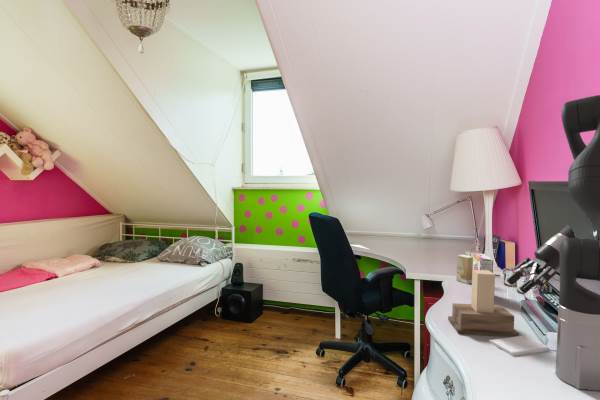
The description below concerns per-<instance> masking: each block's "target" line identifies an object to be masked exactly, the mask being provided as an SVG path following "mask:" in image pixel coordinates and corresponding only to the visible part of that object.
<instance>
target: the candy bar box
mask: <svg viewBox="0 0 600 400" xmlns="http://www.w3.org/2000/svg"><path fill="white" fill-rule="evenodd" d="M472 257H473V270H488V271H490V272H492V273H493V274H494V259H493V258H491V257H490V256H488V255H487V254H486V253H473V254H472Z"/></svg>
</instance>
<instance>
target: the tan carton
mask: <svg viewBox="0 0 600 400" xmlns="http://www.w3.org/2000/svg"><path fill="white" fill-rule="evenodd" d="M495 285H496V274H495V273H494V272H493V273H492V272H490V271H488V270H472V283H471V300H470V301H471V303H470V304H471V307H472V308H473V309H474V310H475V311H476V312H487V313H494V305H495V289H496V288H495Z"/></svg>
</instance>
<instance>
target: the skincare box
mask: <svg viewBox="0 0 600 400" xmlns="http://www.w3.org/2000/svg"><path fill="white" fill-rule="evenodd" d="M456 259H457V261H456V275H455V276H456V278H455V279H456V281H458V282H461V283H464V284H466V285H468V284H472V270H473V255H469V254H468V255H467V254H457V258H456Z"/></svg>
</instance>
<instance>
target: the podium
mask: <svg viewBox="0 0 600 400" xmlns="http://www.w3.org/2000/svg"><path fill="white" fill-rule="evenodd" d="M451 308H452V310H451V311H452V313H451V314H452V315H450V316H449V315H448V316H447V317H448V318H447V320H448V322H449V323H450V325H452V327H453V328H454V330H455V331H456V333H457V334H458V335H472V336H473V335H474V336H487V337H501V338H502V337H503V338H509V337H516V336H520V334H519V332H518V331H517V330H516V329H515V316H514V315H513V314H512V313H511V312H509V311H508V310H507V309H506V308H505V307H503V306H502V305H495V304H494V313H487V312H476V311H475V310H474V309H473V308H472V307H471V303H453V302H452V307H451Z"/></svg>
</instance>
